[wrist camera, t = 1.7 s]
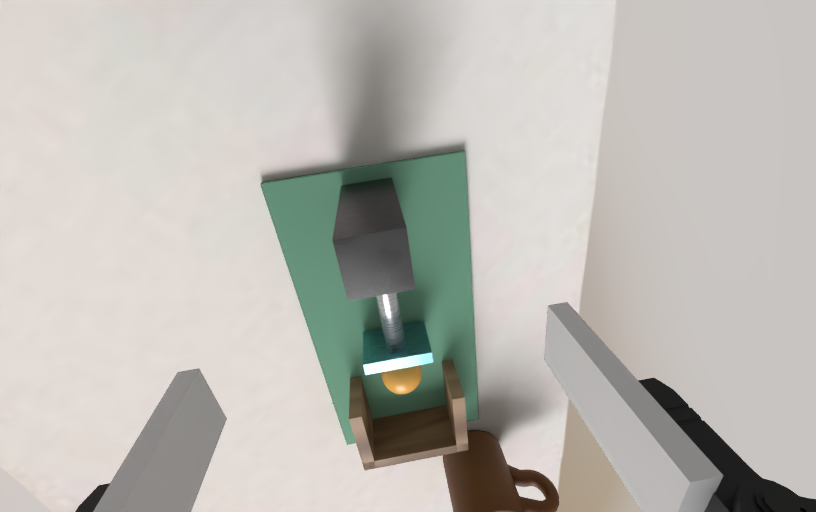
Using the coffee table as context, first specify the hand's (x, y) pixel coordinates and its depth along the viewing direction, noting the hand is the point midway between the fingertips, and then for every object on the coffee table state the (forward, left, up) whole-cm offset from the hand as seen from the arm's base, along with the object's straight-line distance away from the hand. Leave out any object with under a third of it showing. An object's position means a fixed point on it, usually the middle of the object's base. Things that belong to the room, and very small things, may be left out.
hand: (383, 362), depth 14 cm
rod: (+6, 0, -17) cm, 18 cm away
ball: (+17, 0, -16) cm, 23 cm away
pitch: (+13, 0, -18) cm, 22 cm away
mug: (+35, +9, -18) cm, 40 cm away
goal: (+22, 0, -18) cm, 28 cm away
